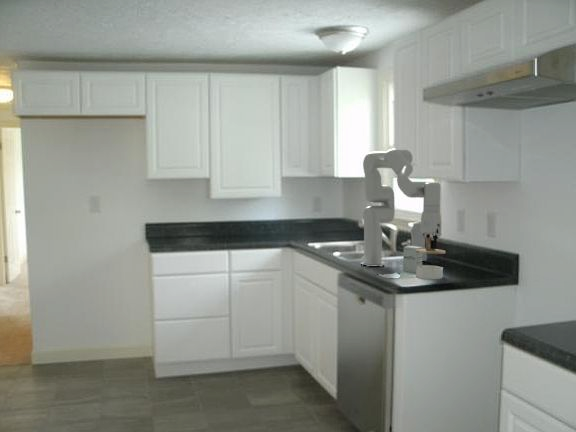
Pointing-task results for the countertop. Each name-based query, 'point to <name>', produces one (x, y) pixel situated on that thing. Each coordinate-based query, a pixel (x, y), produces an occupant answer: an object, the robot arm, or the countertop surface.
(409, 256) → the supplement box
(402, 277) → the mat
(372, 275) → the countertop surface
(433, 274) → the bowl
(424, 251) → the lid
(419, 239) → the tall pale column
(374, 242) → the robot arm
